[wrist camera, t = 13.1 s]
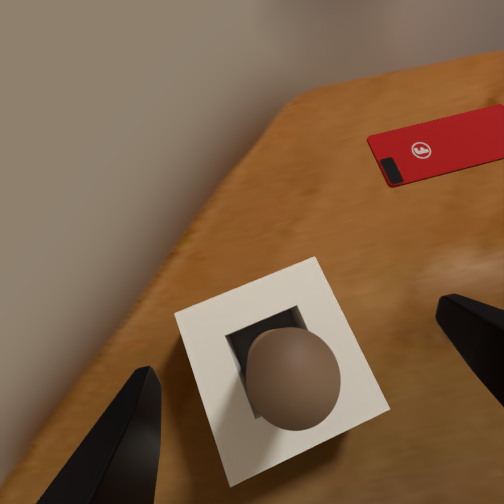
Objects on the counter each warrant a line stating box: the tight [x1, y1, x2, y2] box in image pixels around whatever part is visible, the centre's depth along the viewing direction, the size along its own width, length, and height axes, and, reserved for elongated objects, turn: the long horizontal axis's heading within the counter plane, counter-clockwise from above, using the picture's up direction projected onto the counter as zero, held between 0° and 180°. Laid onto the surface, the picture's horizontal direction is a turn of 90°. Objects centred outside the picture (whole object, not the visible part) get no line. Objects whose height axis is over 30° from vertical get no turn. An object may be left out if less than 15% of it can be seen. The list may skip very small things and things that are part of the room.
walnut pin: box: [246, 327, 341, 431], centre depth 15 cm, size 4×4×10 cm
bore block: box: [174, 256, 390, 487], centre depth 19 cm, size 10×10×4 cm
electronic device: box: [367, 104, 504, 187], centre depth 26 cm, size 6×1×15 cm
